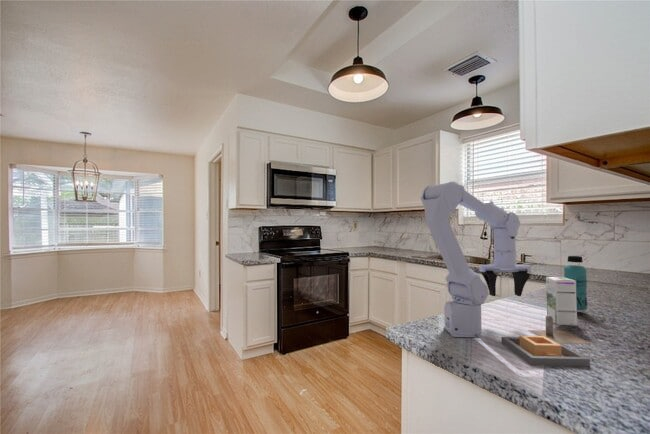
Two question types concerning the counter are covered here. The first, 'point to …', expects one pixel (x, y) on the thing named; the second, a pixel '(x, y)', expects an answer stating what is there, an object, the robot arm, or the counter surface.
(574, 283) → the syrup box
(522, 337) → the ring
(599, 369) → the counter surface
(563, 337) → the stake board
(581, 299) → the beverage bottle
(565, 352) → the tray
